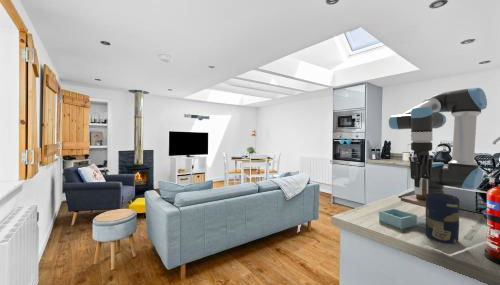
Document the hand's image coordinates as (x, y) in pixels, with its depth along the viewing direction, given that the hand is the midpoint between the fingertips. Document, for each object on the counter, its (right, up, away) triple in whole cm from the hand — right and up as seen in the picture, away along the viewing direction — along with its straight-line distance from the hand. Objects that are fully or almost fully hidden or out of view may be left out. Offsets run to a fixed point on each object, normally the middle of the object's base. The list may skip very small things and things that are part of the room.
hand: (421, 193), depth 98 cm
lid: (0, -4, 0) cm, 4 cm away
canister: (-5, -14, -16) cm, 22 cm away
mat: (0, -13, 0) cm, 13 cm away
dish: (-12, -13, -1) cm, 18 cm away
